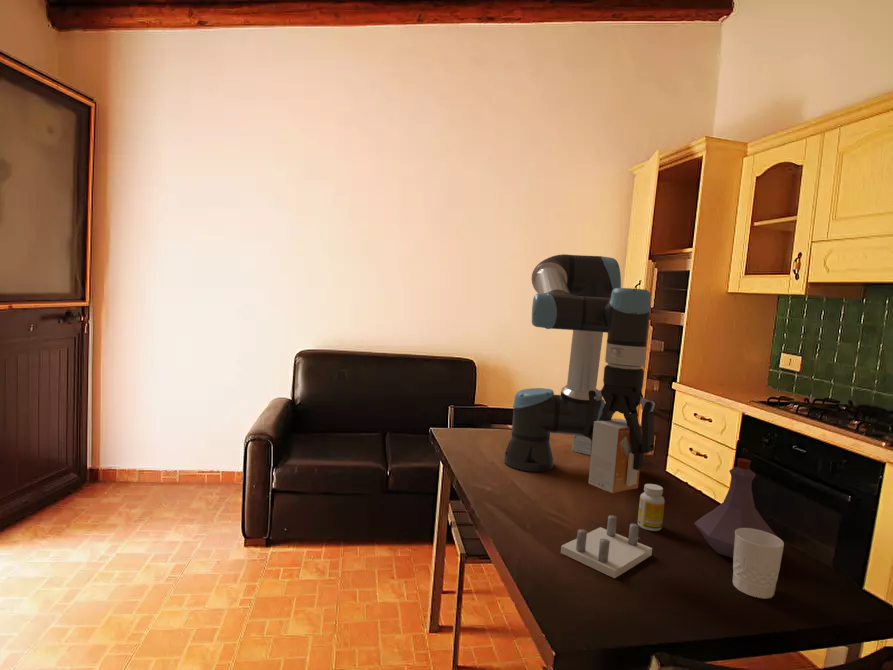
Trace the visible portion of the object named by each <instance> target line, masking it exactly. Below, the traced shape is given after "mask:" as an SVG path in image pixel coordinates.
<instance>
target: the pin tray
mask: <svg viewBox="0 0 893 670" xmlns="http://www.w3.org/2000/svg"><path fill="white" fill-rule="evenodd" d="M617 521H618V517H617V516H616V515H612V514H610V515H608V516H607V525H606V528H604V527H601V526H600V527H598V528H596V529H594V530H591V531H589V532H588V531H587V530H586V529H583V528H579V529H577V534H576V535H577V536H576V538H575V539H572V540H570V541H569V542H566V543H564V544H562V545H561V548H560V554H562V555H564V556H566V557H568V558H570V559H573V560H574V561H576V562H579V563H581V564H583V565H585V566H587V567H590V568H591V569H594V570H596V571H598V572H600V573H602V574H605V575H606V576H609V577H610V578H611V579H612V578H613V579H616V578H617V577H620V576H621V575H622V574H624V573H626V572H627V571H628V570H630V569H633V568H634V567H636V566H637V565H639V564H640V563H641V562H643V561H645V560H646V559H648V558H649V557H651V556H652V553H653V547H650V546H648V545H645V544H643V543H641V542H638V541H639V539H638V538H639V530H640V526H639V525H638V523H637V524H636V523H629V529H628V530H629V532H628V537H626V536H623V535H621V534H618V533H616V531H617Z"/></svg>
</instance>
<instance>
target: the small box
mask: <svg viewBox="0 0 893 670" xmlns="http://www.w3.org/2000/svg"><path fill="white" fill-rule="evenodd" d="M611 419H612V420H608V421H594V428H593V439H592V450H591V455H590V461H589V462H590V464H589V473H588V474H589V475H588V484H589V485H591V486H593V487H595V488H599V489H601V490H603V491H605V492H608V493H611V494H615V493H619V492H624V491H630V490H634V489H638V488H639V482H640V481H639V479H640V471H641V469H639V470H638V471H637V482H636V484H634V485H632V486H627V485H626V481H627V470H628V459H629V453H630V452H632V451H633V448H632V443H631V439H630V435H629V433H630V427H628V426H627V422H626V419H624V420H623V419H622V418H611ZM639 426H640V430H641V434H642V423H641V424H640V423H639Z"/></svg>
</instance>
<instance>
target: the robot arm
mask: <svg viewBox="0 0 893 670" xmlns="http://www.w3.org/2000/svg"><path fill="white" fill-rule="evenodd" d="M621 275H622V274H621V268H620V264H619V262H618V260H616V259H615V258H614V257H609V256H602V255H583V254H582V255H580V254H579V255H578V254H577V255H576V254H566V253H565V254H564V253H563V254H557V255H556V254H555V255H553V256H549V257H548V258H546V259H545V258H544V260H542V261H540V262H539V263H538V264H537V265H536V266H535V267H534V269H533V271H532V273H531V284H532V287H533V289H534V290H535V292H536V293H535V294H534V296H533V299H532V307H531V324H532V326H534V327H536V328H543V329H546V330H552V329H553V330H567V331H568V330H569V331H572V338H571V344H570V345H571V346H570V355H569V363H568V364H569V365H568V373H567V382H566V383H567V384H566V385H565V386H563V387H562V388H561V391H560V394H555V393H554V390H553V389H551V388H543V387H531V388H525V389H524V388H523V389H521V390H519V391H517V392H516V393H515V395H514V400H513V406H512V407H513V413H512V414H513V416H512V425H511V426H512V427H511V436H510V440H509V441H508V445H507V446H506V449H505V452H504V454H503V462H505V463H506V464H507V465H506V464H505V463H504V464H505V465H506V466H508V465H509V466H508V467H510V466H511V467H510V468H512V467H513V469H515V468H516V470H519V469H520V470H519V471H524V470H525V471H526V472H534V471H535V472H547V471H550V470H552V469H553V468H554V457H553V452H552V448H551V447H552V446H551V444H550V440H551V439H550V436H551V434H562V435H572V436H573V435H579V436H585V437H588V438H589V439H591V442H592V439H593V428H594V421H608V420H611V419H613V415H614V414H615V413H616V412H617V413H619V414H623V418H624V420H626V422H627V426H628V427H630V433H629V435H630V439H631V443H632V448H633V451H632V452H630V453H629V459H628V470H627V481H626V485H627V486H632V485H634V484H636V482H637V471H638V470H639V469H640V470H641V469H642V468H643V464H644V463H643V462H644V455H645V454H648V453H651V452H654V450H655V411H656V408H657V405H658V403H657V401H656V400H649V399H647V398H645V397H644V394H643V391H642V390H643V385H644V376H645V375H644V374H645V370H644V369H643V367H644V366H645V365H646V353H647V342H648V333H649V324H650V323H649V322H650V313H651V310H652V305H651V300H652V299H651V297H652V296H651V292H650V291H649V290H648V289H644V288H643V289H642V288H630V287H628V288H627V287H622V278H621V277H622V276H621ZM604 333H607V338H606V347H605V348H606V350H605V358H604V360H605V363H607V365H605V366H604V367H603V369H604V370H603V380H602V381H603V386H602V388H601V389H597V385H598V376H599V367H600V361H601V351H602V343H603V339H604V338H603V337H604ZM639 405H641V407H640V408H641V410H642V413H641V425H642V434H641V430H640V426H639V424H640V423H639V418H638V417H639V412H638V410H637V408H638V407H639ZM591 450H592V443H591Z"/></svg>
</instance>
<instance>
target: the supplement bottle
mask: <svg viewBox="0 0 893 670" xmlns="http://www.w3.org/2000/svg"><path fill="white" fill-rule="evenodd" d="M643 491H644V492H642V493H641V494H640V496H639V504H638V512H637V513H638V514H637V525H639V528H641V529H643V530H645V531H650V532H651V531H652V532H658V531H660V530H662V528H663V527H662V526H663V518H664V512H665V511H664V510H665V503H666V501H665V497H664V496H663V493H664V488H663V487H662V486H661V485H659V484H655V483H654V484H653V483H645V484H644V487H643Z"/></svg>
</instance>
